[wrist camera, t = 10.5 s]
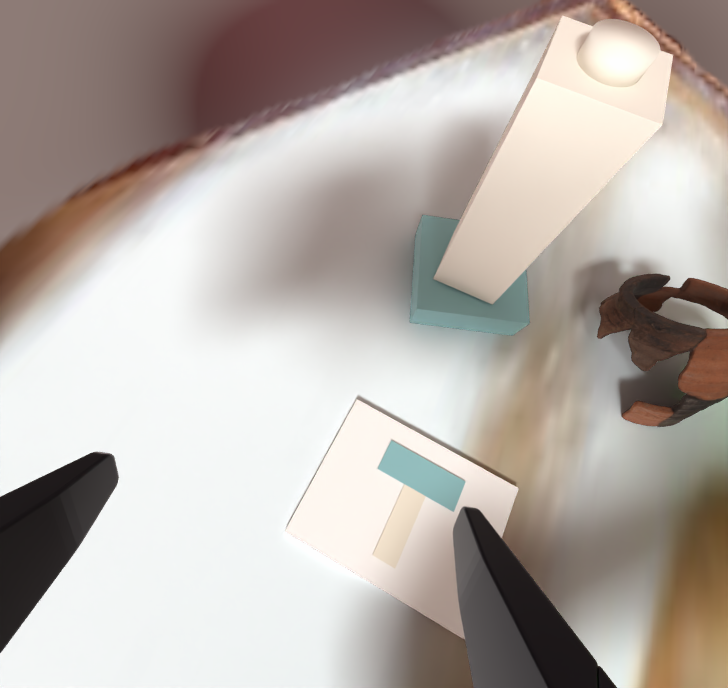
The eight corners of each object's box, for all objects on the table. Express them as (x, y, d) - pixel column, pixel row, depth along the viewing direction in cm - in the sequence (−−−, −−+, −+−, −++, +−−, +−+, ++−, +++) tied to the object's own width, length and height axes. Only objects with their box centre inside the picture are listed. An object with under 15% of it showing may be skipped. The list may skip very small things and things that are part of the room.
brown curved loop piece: (578, 424, 24) (631, 338, 19) (558, 340, 31) (593, 259, 26) (787, 458, 21) (920, 368, 16) (715, 358, 28) (791, 271, 23)
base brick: (508, 338, 26) (529, 323, 23) (408, 325, 26) (416, 308, 23) (505, 251, 29) (523, 229, 26) (414, 238, 28) (422, 214, 26)
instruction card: (516, 487, 22) (519, 488, 22) (465, 638, 19) (467, 642, 19) (356, 399, 23) (356, 398, 23) (285, 530, 20) (284, 531, 20)
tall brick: (492, 304, 23) (685, 100, 11) (433, 279, 24) (550, 50, 11) (508, 256, 25) (693, 29, 12) (453, 233, 25) (575, -12, 13)
